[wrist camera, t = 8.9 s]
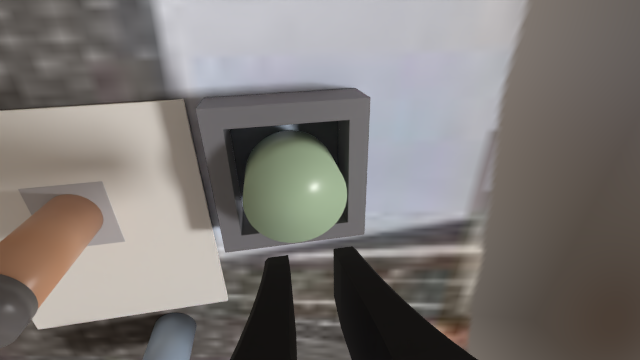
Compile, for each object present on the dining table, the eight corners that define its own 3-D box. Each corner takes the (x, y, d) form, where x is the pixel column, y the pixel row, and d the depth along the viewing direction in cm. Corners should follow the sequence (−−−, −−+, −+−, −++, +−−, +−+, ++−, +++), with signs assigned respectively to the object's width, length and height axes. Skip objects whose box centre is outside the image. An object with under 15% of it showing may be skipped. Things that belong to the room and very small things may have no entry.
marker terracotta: (112, 233, 18) (36, 341, 12) (58, 241, 18) (-49, 357, 12) (92, 189, 17) (-5, 285, 11) (33, 197, 16) (-104, 302, 10)
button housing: (353, 211, 21) (364, 234, 18) (229, 226, 20) (225, 252, 17) (356, 88, 17) (370, 97, 15) (204, 97, 16) (195, 109, 14)
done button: (334, 205, 18) (346, 236, 16) (251, 215, 18) (250, 248, 15) (333, 126, 16) (347, 146, 14) (238, 134, 16) (234, 156, 13)
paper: (228, 298, 22) (227, 301, 22) (40, 326, 20) (37, 330, 20) (183, 99, 16) (182, 99, 16) (-94, 116, 14) (-100, 117, 14)
